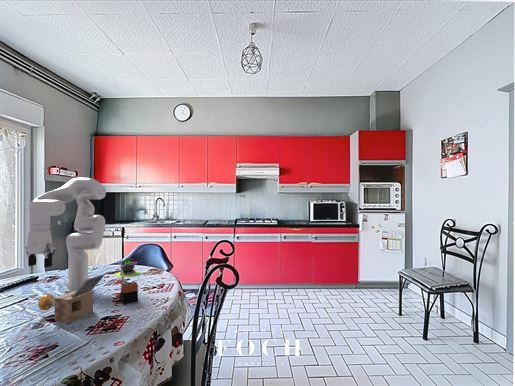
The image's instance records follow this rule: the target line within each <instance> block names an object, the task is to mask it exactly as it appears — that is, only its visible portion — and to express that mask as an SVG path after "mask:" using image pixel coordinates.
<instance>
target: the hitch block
mask: <svg viewBox="0 0 515 386" xmlns="http://www.w3.org/2000/svg"><path fill="white" fill-rule="evenodd" d="M76 291H77V290H76ZM76 291H73V292H70V293H67V292H66V293H65V294H62V295H58V296H56V297H55V296H54V298H55V307H54V321H55V322H62V323H68V324H70V323H72V322H74V321H76V320H78V319H80V318H83V317H85V316H87V315H91V314H92V313H94V290H92V291H91V292H88V293H85V294H82V295H80V296H77V297H74V298H72V297H71V295H73V294H74V293H75V292H76Z"/></svg>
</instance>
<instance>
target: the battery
mask: <svg viewBox="0 0 515 386" xmlns="http://www.w3.org/2000/svg"><path fill="white" fill-rule="evenodd" d="M138 302H139V284H138V283H137V282H136V281H135V280H132V281H131V282H129V281H124V284H122V298H121V304H123V305H129V304H135V303H138Z"/></svg>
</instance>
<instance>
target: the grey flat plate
mask: <svg viewBox="0 0 515 386" xmlns="http://www.w3.org/2000/svg"><path fill="white" fill-rule="evenodd" d="M104 277H105V274H100V275H97V276H93V277H90V278H88V279H87V280H85V281H84V283H83V284H82V285H81V286H80V287H79V289H78V290H77V291H76V292H75V293H74V294H73V295H71V297H72V298H74V297H77V296H80V295H82V294H85V293H88V292H91V291H93V289H94V288H95V287H96V286H97V285H98V284H99V282H100V281H101V280H102V279H103V278H104Z"/></svg>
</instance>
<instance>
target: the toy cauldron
mask: <svg viewBox="0 0 515 386" xmlns="http://www.w3.org/2000/svg"><path fill="white" fill-rule="evenodd" d="M124 258H125V259H126V257H125V256H124ZM129 259H132V258H131V257H129ZM129 259H128V260H125V261H121V262H120V263H118V264H117V265H119V266H120V270H121V271H120V272H116V274H115V276H116V277H120V278H121V277H122V272H124V278H125V277H132V276H136V275H139V274H141V273H140V271H139V270H135V265H136V264H137V263H138V262H137V261H134V260H132V261H131V260H129Z"/></svg>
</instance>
